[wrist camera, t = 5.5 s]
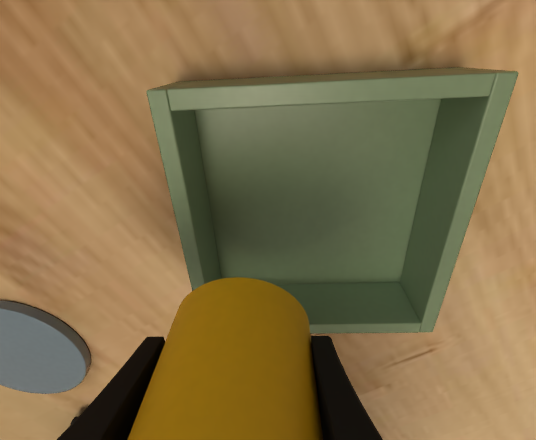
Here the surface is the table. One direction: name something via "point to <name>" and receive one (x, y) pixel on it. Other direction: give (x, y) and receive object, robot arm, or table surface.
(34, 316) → the saucer
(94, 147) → the table surface
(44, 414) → the table surface
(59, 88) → the table surface
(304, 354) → the pepper
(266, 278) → the tub
